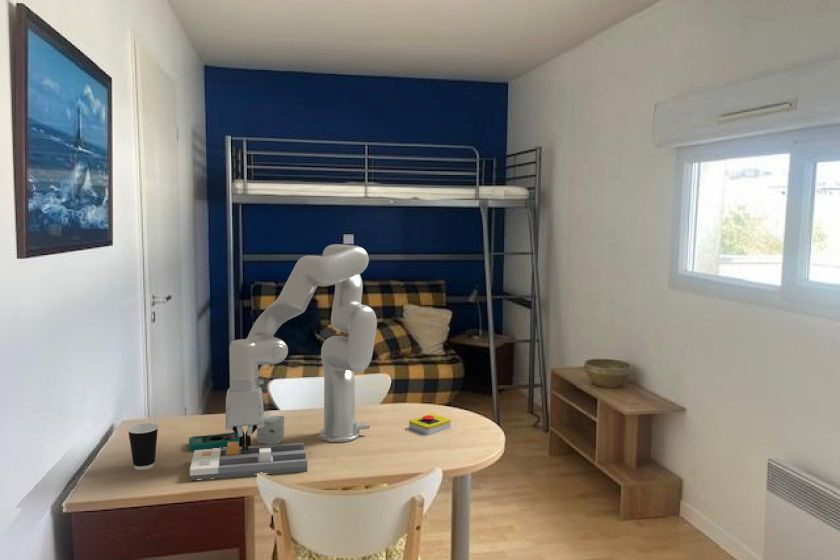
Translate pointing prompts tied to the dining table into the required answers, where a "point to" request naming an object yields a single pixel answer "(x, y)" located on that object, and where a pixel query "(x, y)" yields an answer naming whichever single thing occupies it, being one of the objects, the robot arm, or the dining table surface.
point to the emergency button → (428, 425)
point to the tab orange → (233, 448)
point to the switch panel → (247, 462)
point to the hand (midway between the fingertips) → (245, 448)
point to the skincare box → (271, 430)
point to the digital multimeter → (212, 441)
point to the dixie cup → (143, 444)
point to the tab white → (265, 455)
